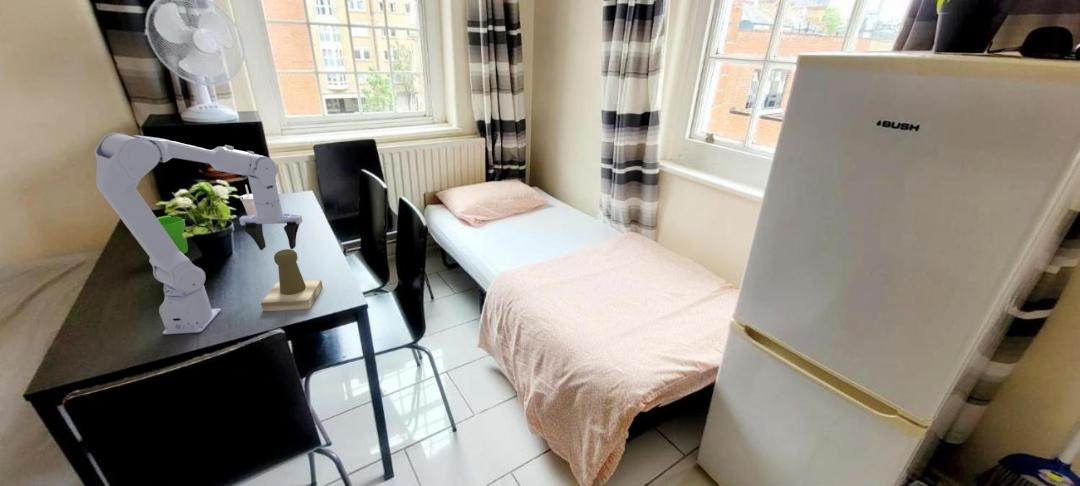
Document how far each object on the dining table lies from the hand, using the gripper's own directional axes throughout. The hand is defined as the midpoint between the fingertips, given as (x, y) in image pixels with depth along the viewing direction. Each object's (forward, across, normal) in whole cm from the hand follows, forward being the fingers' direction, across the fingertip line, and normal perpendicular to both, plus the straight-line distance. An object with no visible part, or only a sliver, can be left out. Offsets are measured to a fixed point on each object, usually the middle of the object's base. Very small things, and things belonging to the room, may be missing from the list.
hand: (278, 248), depth 117 cm
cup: (+11, +39, -22) cm, 46 cm away
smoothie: (+11, +27, -49) cm, 57 cm away
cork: (+8, -5, +9) cm, 13 cm away
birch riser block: (+10, -6, +10) cm, 15 cm away
